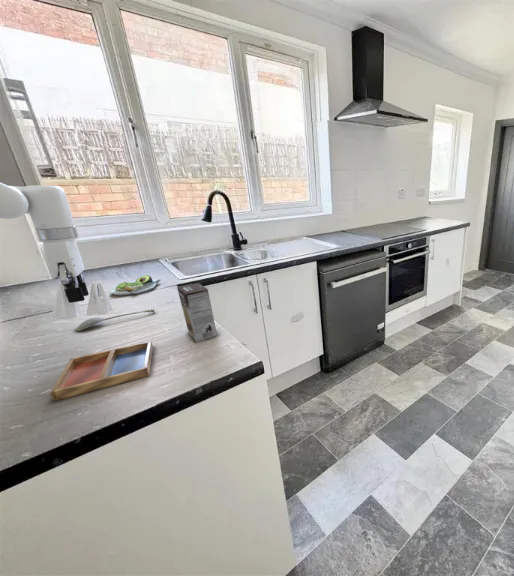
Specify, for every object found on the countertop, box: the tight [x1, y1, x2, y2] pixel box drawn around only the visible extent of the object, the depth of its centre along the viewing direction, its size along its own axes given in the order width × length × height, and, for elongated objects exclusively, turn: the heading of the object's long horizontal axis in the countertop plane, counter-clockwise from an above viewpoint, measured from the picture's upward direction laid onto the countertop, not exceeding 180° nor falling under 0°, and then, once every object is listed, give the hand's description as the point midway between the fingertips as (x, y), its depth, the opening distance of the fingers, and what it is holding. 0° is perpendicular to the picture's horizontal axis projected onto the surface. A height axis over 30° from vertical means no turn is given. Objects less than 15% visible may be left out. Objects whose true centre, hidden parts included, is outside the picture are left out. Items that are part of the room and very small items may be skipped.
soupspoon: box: [75, 308, 155, 332], centre depth 110 cm, size 22×3×7 cm
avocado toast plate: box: [109, 274, 162, 297], centre depth 140 cm, size 19×18×5 cm
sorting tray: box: [49, 340, 154, 402], centre depth 81 cm, size 18×17×2 cm
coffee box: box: [176, 282, 218, 343], centre depth 98 cm, size 9×6×16 cm
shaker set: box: [52, 280, 113, 320], centre depth 88 cm, size 12×4×11 cm, turn 125°
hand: (79, 298), depth 87 cm, fingers closed on shaker set, 4 cm apart
